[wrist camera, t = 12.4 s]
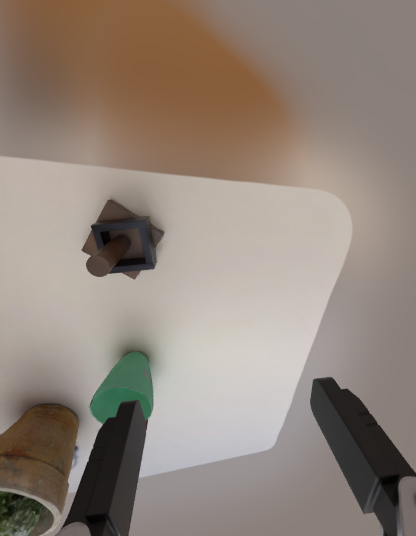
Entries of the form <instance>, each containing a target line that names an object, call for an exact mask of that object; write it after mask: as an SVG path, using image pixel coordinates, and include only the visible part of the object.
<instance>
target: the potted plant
mask: <svg viewBox="0 0 416 536" xmlns="http://www.w3.org/2000/svg"><path fill="white" fill-rule="evenodd" d="M78 427H79V423H78V419H77V418H76V416H75V414H74V413H73V412H72V411H71V410H70V409H68V408H66V407H64V406H61V405H59V404H42V405H39V406H35V407H33V408H31V409H30V410H28V411H27V412H26V413H25V414H24V415H23V416H22V417H21V418H20V419H19V420H18V421H17V422H16V423H14V424H13V425H12V426H11V427H10V428H9V429H7V430H6V431H5V432H4V433H3V434H1V435H0V536H44V535H46V534H48V533H49V532H51V531H52V530H54V529H55V528H56V526H57V525H58V524H59V522H60V521H61V514H62V511H63V508H64V505H65V499H66V496H67V493H68V487H69V484H68V478H69V474H70V470H71V466H72V460H73V454H74V449H75V444H76V438H77V432H78Z"/></svg>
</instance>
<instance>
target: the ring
mask: <svg viewBox="0 0 416 536" xmlns="http://www.w3.org/2000/svg"><path fill="white" fill-rule="evenodd" d="M91 228H92V231H93V235H94V238H95V242H96V245H97V249H98V251H99V250H100V249H101V248H102V247H103V246H105V245H106V244H107V243H108V242H110V241H111V238H110V235H109V231H115V230H125V229H135V228H139V232H140V237H141V241H142V246H143V251H144V256H145V257H142V258H132V259H123V260H119V261H118V262H117V264H116V265H115V266H114V267H113V268H112V269H111V271H110V272H109V273H108V274H111V273H121V272H130V271H140V270H149V269H154V268H155V265H156V263H157V259H156V254H155V249H154V243H153V238H152V233H151V227H150V222H149V217H138V218H127V219H117V220H107V221H99V222H97V223H95V224H93V225H91Z"/></svg>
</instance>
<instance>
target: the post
mask: <svg viewBox="0 0 416 536" xmlns="http://www.w3.org/2000/svg"><path fill="white" fill-rule="evenodd" d="M127 218H138V216H137V215H135V214H133V213H132V212H130V211H129V210H127V209H126V208H124V207H122V206H121V205H119V204H118V203H116V202H114V201H113V200H108V201H107V203H106V205H105V206H104V208H103V210H102V212H101V214H100V216H99V218H98V220H97V222H99V221H107V220H117V219H127ZM97 222H96V223H97ZM150 227H151V233H152V238H153V243H154V249H155V247H156V246H157V244H158V242H159V241H160V239H161V238H162V236H163V234H164V233H163V232H162V231H160V230H159V229H157V228H156V227H154V226H152V225H151V224H150ZM109 235H110V238H111V241H110V242H108V243H107V244H106V245H105V246H103V247H102V248H101V249H100V250H99V251H98V249H97V245H96V242H95V238H94V235H93V231H91V233H90V235H89V237H88V239H87V241H86V243H85V245H84V247H83V249H82V251H83V252H85V253H87V254H89V255H90V256H91V257H90V258H89V259H88V260H87V263H86V267H87V269H88V271H89V272H90V273H91V274H92V275H94V276H97V277H103V276H106V275H107V274H108V273H109V272H110V271H111V269H112V268H113V267H114V266H115V265H116V264H117V262H118V261H119V260H123V259H132V258H142V257H145V256H144V251H143V246H142V241H141V237H140V232H139V228H135V229H125V230H115V231H109ZM140 271H141V270H140ZM140 271H130V272H122V273H123V274H125V275H127V276H129V277H131V278H133V279H136V277H137V275H138V274H139V272H140Z"/></svg>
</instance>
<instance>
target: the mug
mask: <svg viewBox="0 0 416 536" xmlns="http://www.w3.org/2000/svg"><path fill="white" fill-rule="evenodd" d="M132 400H139V401H140V404H141V407H142V411H143V414H144V417H145V421H146V430H147V423H148V418H149V417H150V416H151V413H152V410H153V384H152V377H151V371H150V366H149V362H148V359H147V357H146V356H145V355H144V354H142V353H140V352H130V353H128V354H127V355H125V356H124V357H123V358H122V359H121V360H120V361H119V362H118V363H117V364H116V365H115V367H114V368H113V369H112V370H111V371H110V373H109V374H108V376H107V377H106V379H105V380H104V381H103V383H102V384H101V385H100V387H99V388H98V390H97V391H96V393H95V394H94V396H93V399H92V401H91V404H90V411H91V414H92V415H93V416H94V417H95V419H96V420H97V421H99V422H101V423H102V424H104V423H105V421H106V420H107V419H108V418H110V417H116V414H117V411H118V408H119V405H120V403H121V402H124V401H132Z"/></svg>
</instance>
